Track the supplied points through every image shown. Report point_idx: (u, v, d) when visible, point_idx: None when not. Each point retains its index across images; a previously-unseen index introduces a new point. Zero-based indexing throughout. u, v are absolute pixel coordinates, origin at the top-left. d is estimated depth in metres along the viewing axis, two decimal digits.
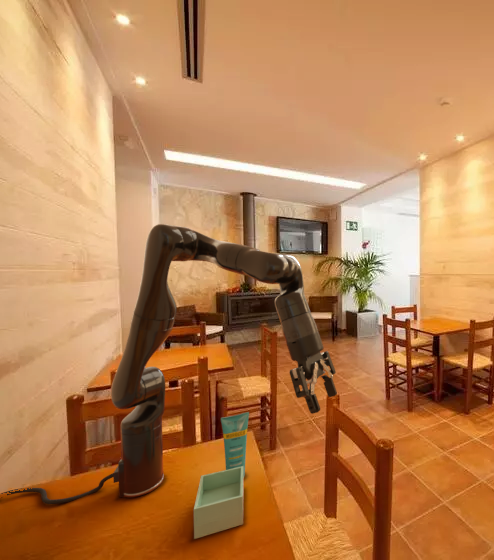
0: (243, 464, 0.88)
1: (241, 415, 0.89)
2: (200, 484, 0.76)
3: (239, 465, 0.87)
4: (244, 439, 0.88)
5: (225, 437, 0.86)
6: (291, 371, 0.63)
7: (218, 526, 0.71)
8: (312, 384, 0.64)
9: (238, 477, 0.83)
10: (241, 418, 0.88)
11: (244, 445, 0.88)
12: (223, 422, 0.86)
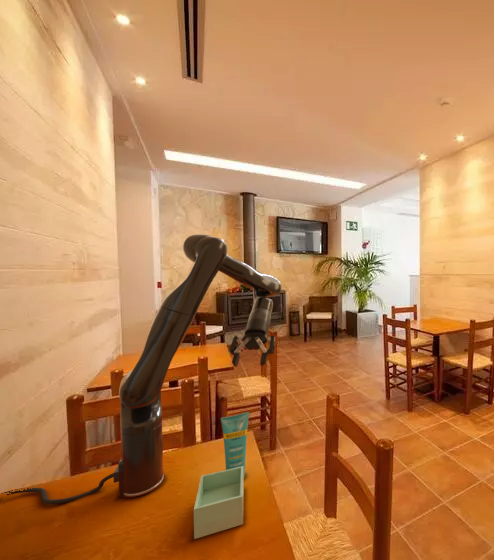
0: (243, 464, 0.88)
1: (241, 415, 0.89)
2: (200, 484, 0.76)
3: (239, 465, 0.87)
4: (244, 439, 0.88)
5: (225, 437, 0.86)
6: None
7: (218, 526, 0.71)
8: None
9: (238, 477, 0.83)
10: (241, 418, 0.88)
11: (244, 445, 0.88)
12: (223, 422, 0.86)
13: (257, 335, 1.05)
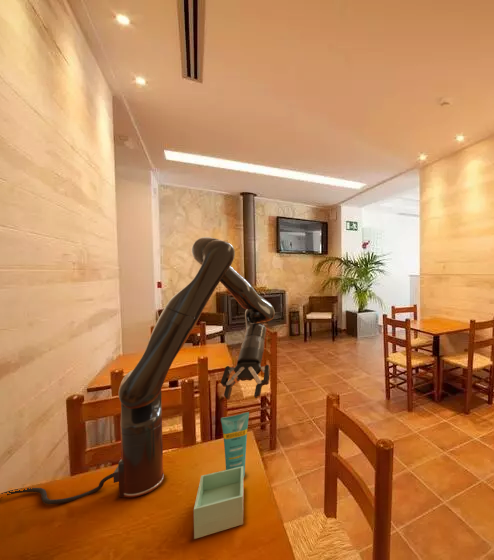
0: (243, 464, 0.88)
1: (241, 415, 0.89)
2: (200, 484, 0.76)
3: (239, 465, 0.87)
4: (244, 439, 0.88)
5: (225, 437, 0.86)
6: (268, 366, 1.01)
7: (218, 526, 0.71)
8: None
9: (238, 477, 0.83)
10: (241, 418, 0.88)
11: (244, 445, 0.88)
12: (223, 422, 0.86)
13: (250, 364, 1.00)
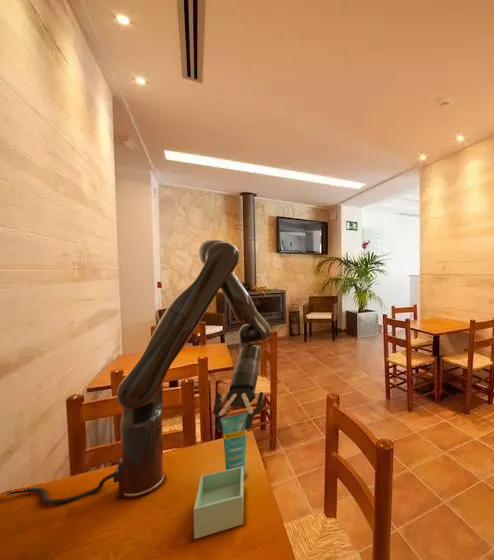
0: (243, 464, 0.88)
1: (241, 415, 0.89)
2: (200, 484, 0.76)
3: (239, 465, 0.87)
4: (244, 439, 0.88)
5: (225, 437, 0.86)
6: (263, 393, 0.94)
7: (218, 526, 0.71)
8: None
9: (238, 477, 0.83)
10: (241, 418, 0.88)
11: (244, 445, 0.88)
12: (223, 422, 0.86)
13: (244, 390, 0.93)
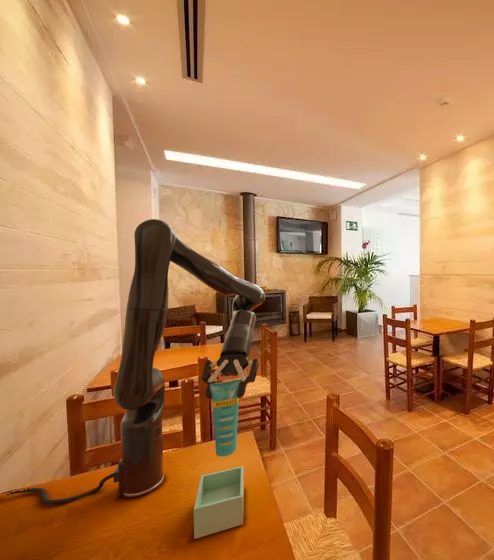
0: (234, 436, 0.80)
1: (232, 382, 0.81)
2: (200, 484, 0.76)
3: (230, 436, 0.79)
4: (236, 408, 0.80)
5: (214, 405, 0.78)
6: (257, 360, 0.86)
7: (218, 526, 0.71)
8: None
9: (238, 477, 0.83)
10: (232, 386, 0.81)
11: (236, 415, 0.80)
12: (212, 389, 0.78)
13: (236, 357, 0.85)
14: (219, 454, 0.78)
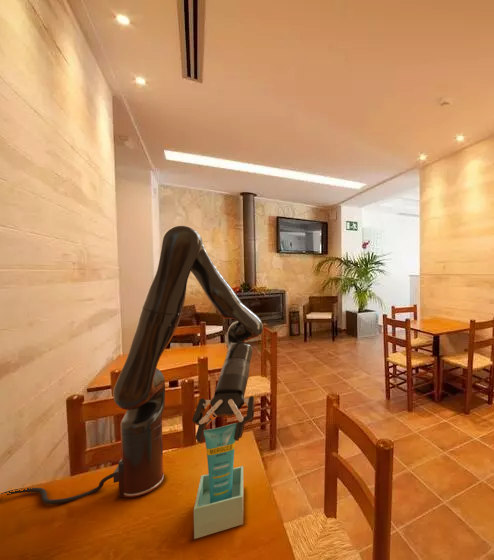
0: (230, 484, 0.76)
1: (228, 426, 0.76)
2: (200, 484, 0.76)
3: (225, 485, 0.75)
4: (231, 455, 0.76)
5: (208, 453, 0.74)
6: (253, 397, 0.81)
7: (218, 526, 0.71)
8: None
9: (238, 477, 0.83)
10: (227, 431, 0.76)
11: (231, 461, 0.76)
12: (206, 435, 0.74)
13: (231, 396, 0.81)
14: None
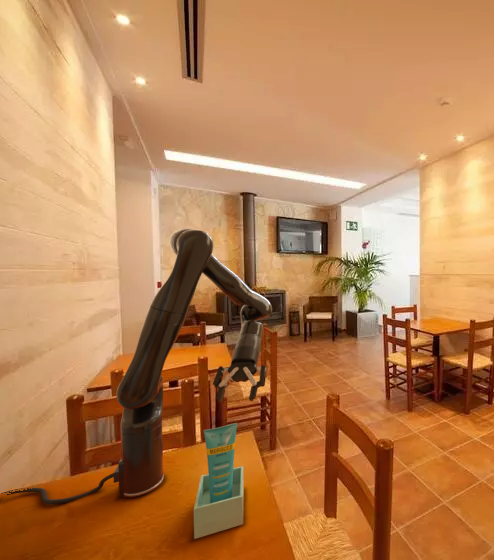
0: (230, 484, 0.76)
1: (228, 426, 0.76)
2: (200, 484, 0.76)
3: (225, 485, 0.75)
4: (231, 455, 0.76)
5: (209, 453, 0.74)
6: None
7: (218, 526, 0.71)
8: None
9: (238, 477, 0.83)
10: (228, 431, 0.76)
11: (231, 461, 0.76)
12: (206, 435, 0.74)
13: (245, 364, 0.93)
14: None
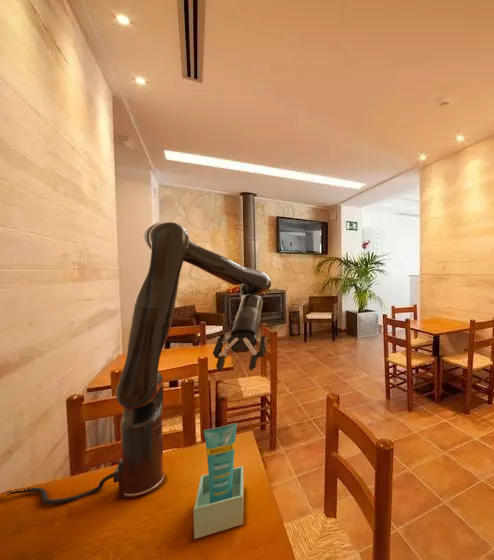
0: (230, 484, 0.76)
1: (228, 426, 0.76)
2: (200, 484, 0.76)
3: (225, 485, 0.75)
4: (231, 455, 0.76)
5: (209, 453, 0.74)
6: (264, 337, 0.94)
7: (218, 526, 0.71)
8: None
9: (238, 477, 0.83)
10: (228, 431, 0.76)
11: (231, 461, 0.76)
12: (206, 435, 0.74)
13: (245, 335, 0.93)
14: None
